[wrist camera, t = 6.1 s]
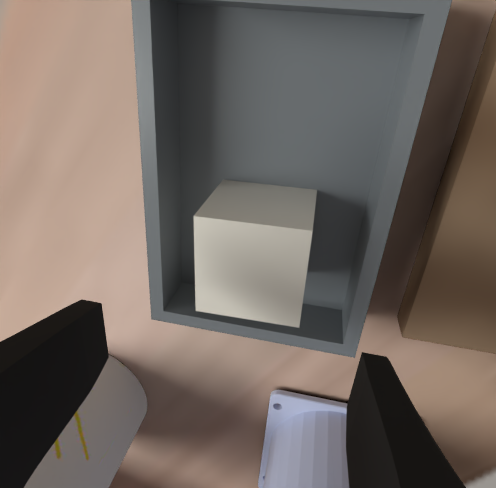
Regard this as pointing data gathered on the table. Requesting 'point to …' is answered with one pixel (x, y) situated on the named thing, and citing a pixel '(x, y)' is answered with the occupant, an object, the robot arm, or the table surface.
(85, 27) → the table surface
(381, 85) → the bin
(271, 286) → the cream matte cube
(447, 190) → the brown flat slab
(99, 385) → the cup
